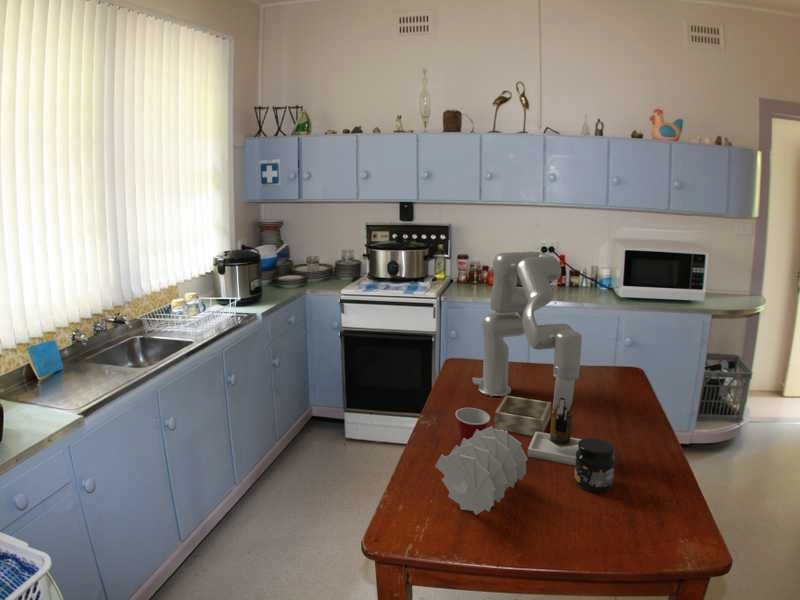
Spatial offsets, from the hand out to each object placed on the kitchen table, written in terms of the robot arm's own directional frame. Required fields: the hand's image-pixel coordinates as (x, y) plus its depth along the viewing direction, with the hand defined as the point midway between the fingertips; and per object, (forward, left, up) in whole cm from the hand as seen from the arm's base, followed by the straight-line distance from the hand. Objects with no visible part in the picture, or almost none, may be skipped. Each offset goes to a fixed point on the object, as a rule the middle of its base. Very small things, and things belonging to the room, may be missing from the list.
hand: (562, 426), depth 180 cm
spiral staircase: (-16, -33, -9) cm, 38 cm away
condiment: (0, -1, -5) cm, 5 cm away
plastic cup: (-26, -9, -9) cm, 29 cm away
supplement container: (+11, -15, -9) cm, 21 cm away
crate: (-15, +16, -9) cm, 24 cm away
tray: (0, 0, -9) cm, 9 cm away
